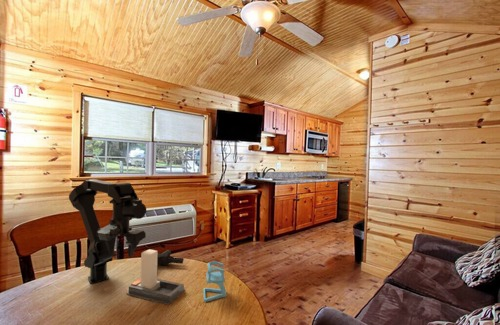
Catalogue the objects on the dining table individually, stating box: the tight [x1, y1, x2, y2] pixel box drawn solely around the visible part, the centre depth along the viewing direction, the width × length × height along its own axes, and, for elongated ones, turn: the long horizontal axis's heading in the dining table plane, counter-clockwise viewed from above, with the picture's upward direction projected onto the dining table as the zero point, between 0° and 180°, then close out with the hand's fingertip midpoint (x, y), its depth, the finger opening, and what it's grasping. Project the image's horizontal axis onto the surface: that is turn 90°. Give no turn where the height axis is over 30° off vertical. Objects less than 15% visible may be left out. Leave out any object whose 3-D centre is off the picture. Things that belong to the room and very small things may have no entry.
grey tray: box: [126, 277, 186, 306], centre depth 90 cm, size 18×10×3 cm, turn 73°
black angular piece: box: [157, 249, 185, 266], centre depth 113 cm, size 5×20×15 cm
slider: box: [137, 248, 160, 290], centre depth 91 cm, size 6×5×14 cm
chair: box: [203, 260, 227, 303], centre depth 89 cm, size 8×8×12 cm
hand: (120, 255), depth 93 cm, fingers open, 9 cm apart
